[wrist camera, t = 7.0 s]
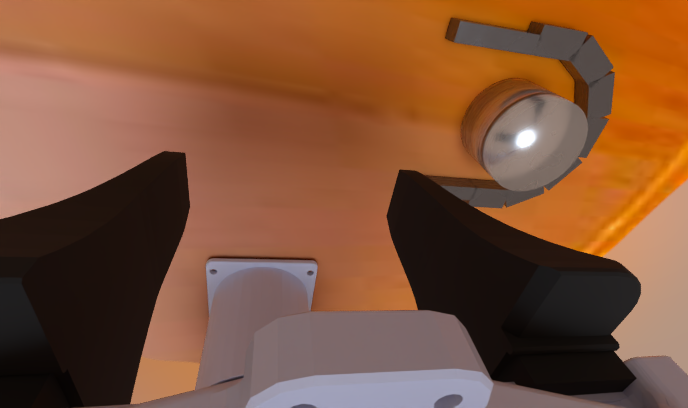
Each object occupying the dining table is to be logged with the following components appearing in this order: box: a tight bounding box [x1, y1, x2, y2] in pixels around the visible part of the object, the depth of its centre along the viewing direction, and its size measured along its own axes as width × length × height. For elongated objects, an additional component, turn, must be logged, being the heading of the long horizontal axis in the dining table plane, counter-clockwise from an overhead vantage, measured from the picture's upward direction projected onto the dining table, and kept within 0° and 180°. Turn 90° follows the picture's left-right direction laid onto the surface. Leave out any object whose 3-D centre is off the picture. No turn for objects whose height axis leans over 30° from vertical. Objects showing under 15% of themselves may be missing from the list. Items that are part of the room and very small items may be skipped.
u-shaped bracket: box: [426, 18, 615, 208], centre depth 22 cm, size 12×12×1 cm
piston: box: [461, 78, 588, 191], centre depth 21 cm, size 6×6×4 cm
